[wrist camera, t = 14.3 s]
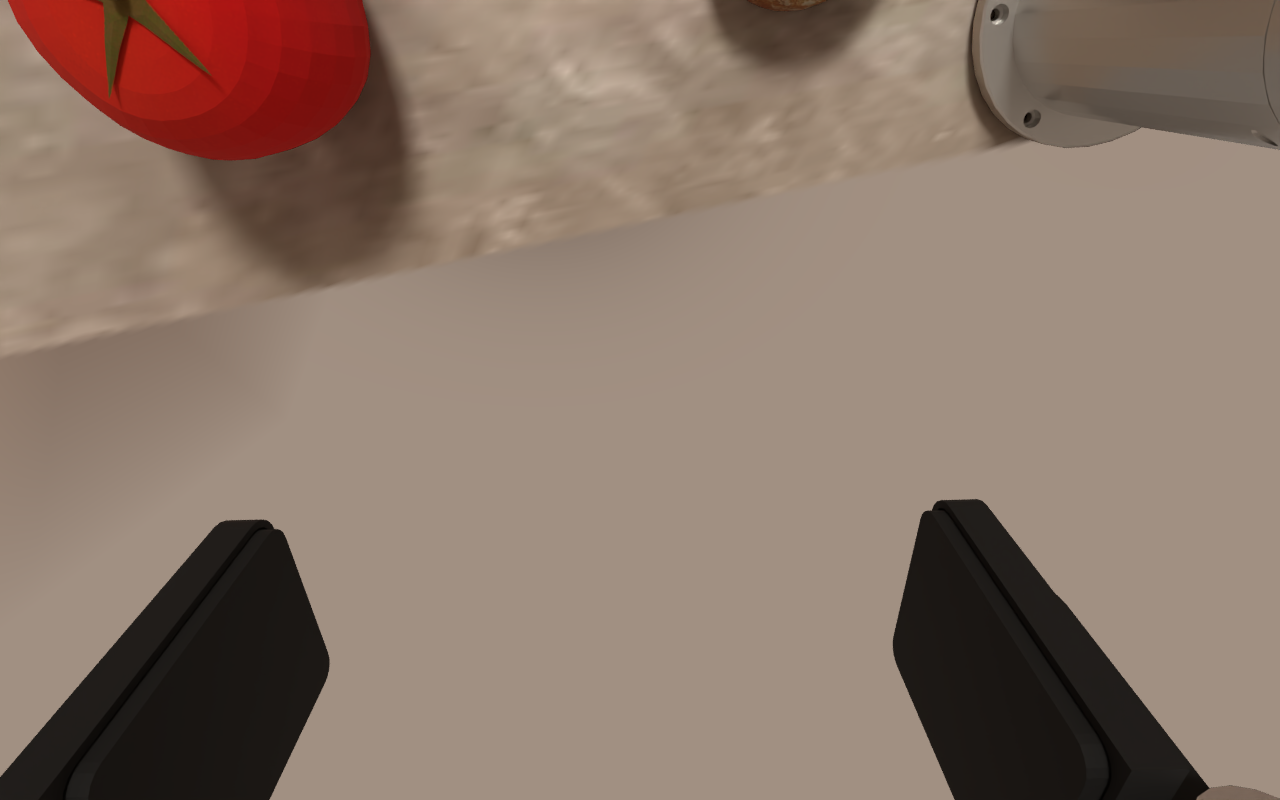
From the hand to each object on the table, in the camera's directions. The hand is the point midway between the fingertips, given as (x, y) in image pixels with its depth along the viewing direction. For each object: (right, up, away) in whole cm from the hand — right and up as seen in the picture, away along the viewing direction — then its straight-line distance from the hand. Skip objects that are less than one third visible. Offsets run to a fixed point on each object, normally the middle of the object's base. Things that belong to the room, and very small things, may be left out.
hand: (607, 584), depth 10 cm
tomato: (-17, +22, +22) cm, 36 cm away
